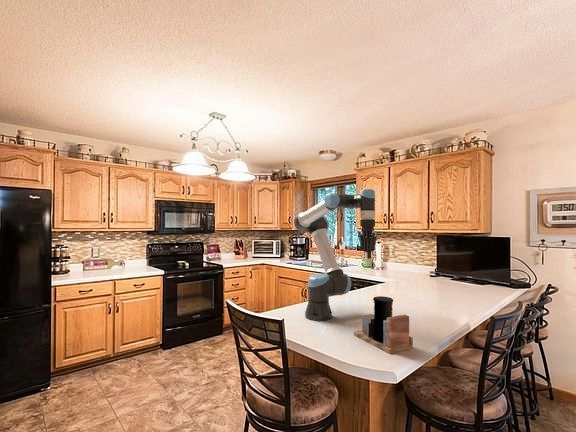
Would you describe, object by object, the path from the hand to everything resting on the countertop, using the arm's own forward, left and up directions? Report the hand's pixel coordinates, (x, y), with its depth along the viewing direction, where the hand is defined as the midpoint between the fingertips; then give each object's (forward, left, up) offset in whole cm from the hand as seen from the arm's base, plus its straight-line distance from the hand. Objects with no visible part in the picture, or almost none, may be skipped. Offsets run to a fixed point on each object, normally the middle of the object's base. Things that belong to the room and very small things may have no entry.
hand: (367, 264), depth 160 cm
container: (+21, -9, -30) cm, 38 cm away
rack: (+20, -9, -31) cm, 38 cm away
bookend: (+13, -9, -30) cm, 34 cm away
